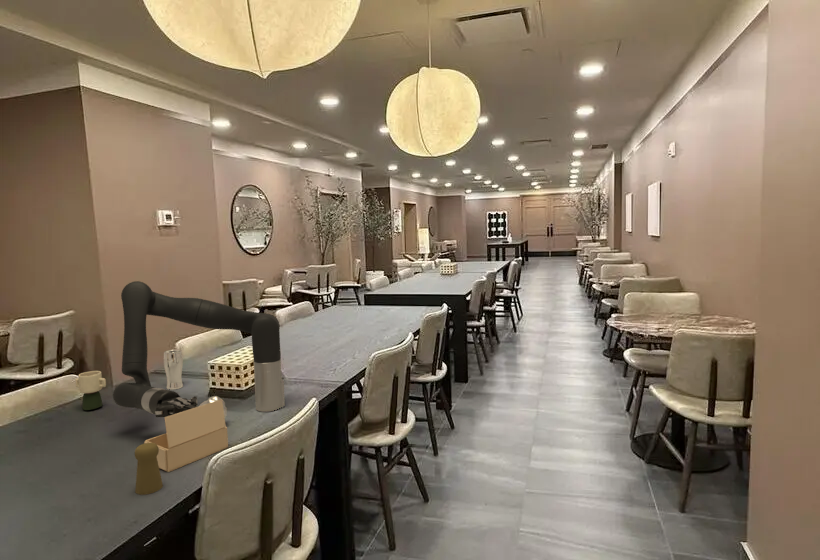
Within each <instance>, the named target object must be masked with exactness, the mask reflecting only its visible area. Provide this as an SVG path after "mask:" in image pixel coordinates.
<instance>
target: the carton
mask: <svg viewBox="0 0 820 560" xmlns="http://www.w3.org/2000/svg"><path fill="white" fill-rule="evenodd" d="M228 437H229V436H228V427H227V426H226V427H224V428H221V429H218V430H216V431H213V432H210V433H208V434H205V435H202V436H200V437H197V438H194V439H192V440H189V441H186V442H184V443H181V444H178V445H176V446H173V447H170V448H168V440H167V433H166V432H165V433H162V434H160V435H157V436H154V437H150V438H148V439H146V440H144V442H143V444H145V443H155V444H157V446H158V448H159V453H158V455H157V461H158V465H159V470H163V471H165V472H167V473H170V472H173V471H176V470H177V469H180V468H182V467H185V466H187V465H190V464H191V463H195V462H196V461H199V460H202V459H204V458H206V457H209V456H211V455H213V454H215V453H219V452H220V451H224V450H226V449H228V448H229V439H228Z"/></svg>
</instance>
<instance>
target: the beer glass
mask: <svg viewBox="0 0 820 560" xmlns="http://www.w3.org/2000/svg"><path fill="white" fill-rule="evenodd" d="M182 351H183V350H181V349H168V350H165V351H163V367H164V371H165V375H166V381H167V382H166V390H169V389H170V391H174V390H178V389H182V388H184V384H183V380H182V375H183V374H182V373H183V365H184V364H183V363H184V359H183V352H182Z"/></svg>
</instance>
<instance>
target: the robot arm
mask: <svg viewBox="0 0 820 560" xmlns="http://www.w3.org/2000/svg"><path fill="white" fill-rule="evenodd" d="M121 302H122V309H123V321H124V323H123V325H124V328H123V330H124V331H123V343H122V344H123V345H122V359H121V373H122V374H123V375H124V376H128V377H131V378H132V379H133V380H134V381H135V382H122V383H120V384H118V385H117V386H116V387H115V388H114V390H113V392H112V398H113V401H114V403H115V404H116V405H118V406H120V407H124V408H131V409H133V408H134V409H138V410H139V409H140V410H142V411H144V412H147V413H149V414H152V415H154V416H155V418H164V417H167V416H171V415H174V414H177V413H180V412H183V411H186V410H189V409H192V408H196V407H198V406H199V405H198V396H193V397H191V398H190V399H188V398H186V397H182V396H181V395H179V393H178V392H176V391H174V390H169V389H167V388H166V389H165V388H162V387H154V386H152V384H151V381H150V375H149V372H148V337H147V316H152V317H153V316H154V317H161V318H167V319H171V320H174V321H178V322H181V323H184V324H188V325H191V326H195V327H201V328H206V329H210V330H211V329H212V330H231V331H232V330H234V331H239V332H245V333H248V334H251V348H252V357H253V373H254V374H253V375H254V390H255V391H254V393H255V394H254V395H255V398H254V399H255V410H256V411H258V412H263V413H266V412H274V410H275V411H278V410H280V409H282V408H284V407H283V406H285V407H286V405H285V404H286V401H285V398H286V397H285V381H284V380H283V379H282V378H283V377H282V357H281V354H282V353H281V342H280V341H281V340H280V339H281V337H280V335H281V334H280V327H281V326H280V321H279V319H278V318H277V317H276V316H275V315H273V314H270V313H267V312H266V313H263V312H256V311H250V310H249V311H248V310H243V309H240V308H236V307H233V306H230V305H227V304H223V303H220V302H216V301H212V300H207V299H204V298H198V297H173V296H170V295H169V296H168V295H165V294H162V293H161V294H160V293H158V292H155V291H153V290H152V289H151V287H150V286H149V285H148V284H147V283H145V282H143V281H140V280H138V281H137V280H135V281H131V282H128V283H127V284H126V285H125V286H124V287H123V289H122V291H121ZM281 407H282V408H281ZM279 408H280V409H279ZM277 409H278V410H277Z"/></svg>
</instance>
